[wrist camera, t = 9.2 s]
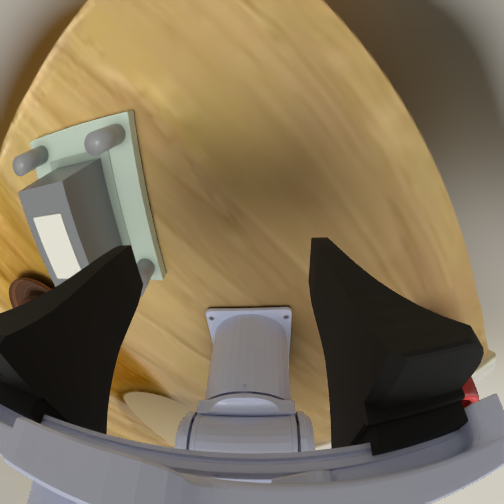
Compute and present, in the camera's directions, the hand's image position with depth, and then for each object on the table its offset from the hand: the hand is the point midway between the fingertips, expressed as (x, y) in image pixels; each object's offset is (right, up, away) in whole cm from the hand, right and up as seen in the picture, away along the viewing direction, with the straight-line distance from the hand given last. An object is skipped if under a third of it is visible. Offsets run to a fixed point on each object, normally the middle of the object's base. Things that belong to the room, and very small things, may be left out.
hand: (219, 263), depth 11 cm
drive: (-12, +4, +9) cm, 15 cm away
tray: (-12, +4, +10) cm, 16 cm away
